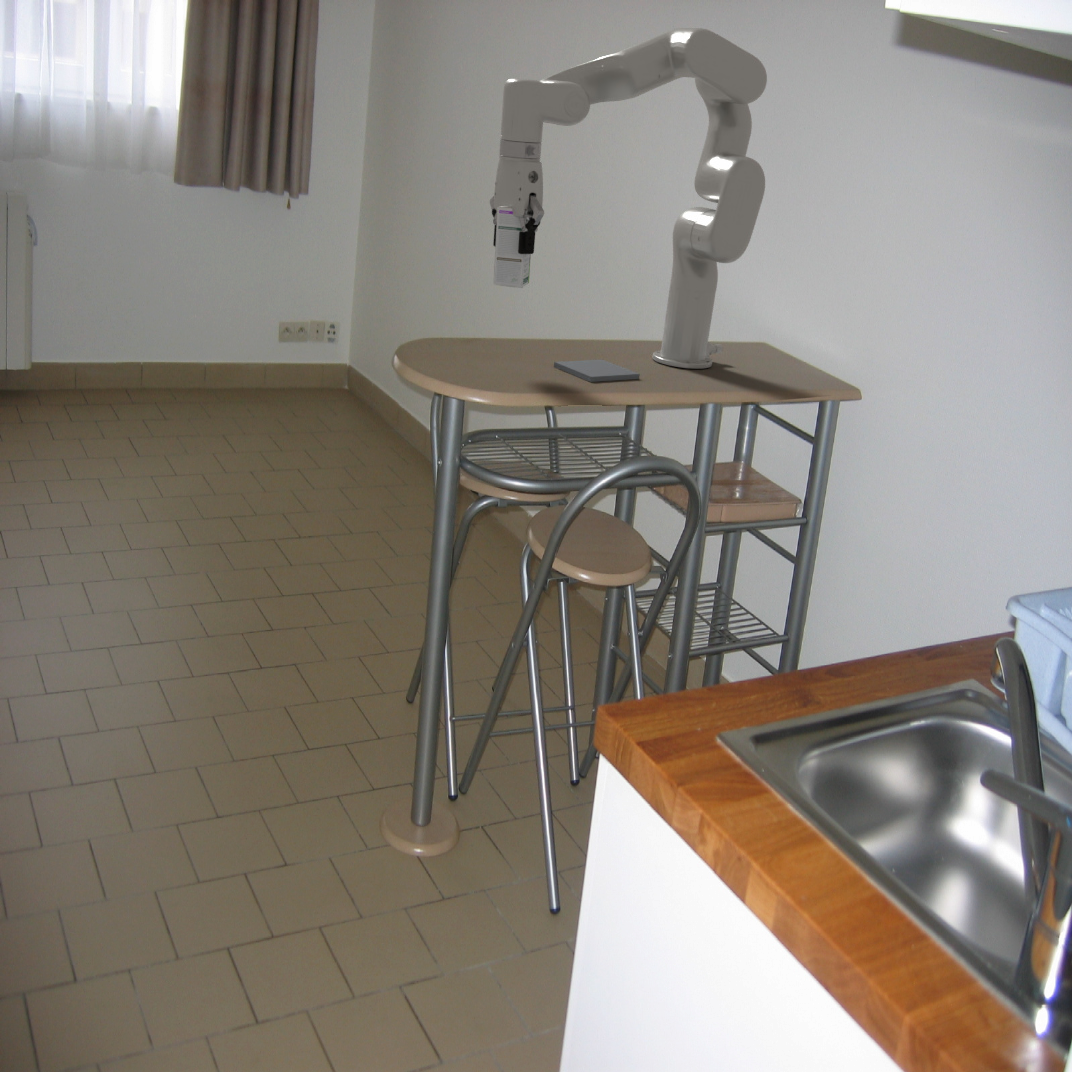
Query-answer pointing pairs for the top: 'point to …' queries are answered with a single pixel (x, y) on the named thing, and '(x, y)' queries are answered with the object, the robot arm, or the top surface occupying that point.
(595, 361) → the grey square plate
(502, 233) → the syrup box
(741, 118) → the robot arm
